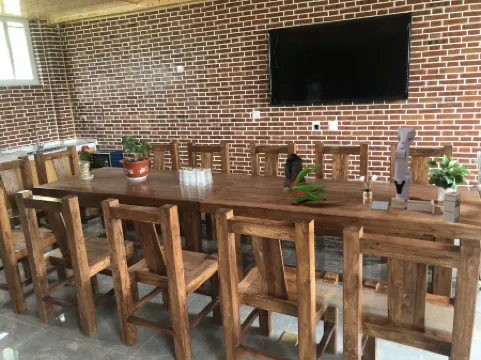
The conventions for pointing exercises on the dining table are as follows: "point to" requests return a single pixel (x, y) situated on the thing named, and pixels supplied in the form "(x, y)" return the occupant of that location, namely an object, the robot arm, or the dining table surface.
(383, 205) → the slate board
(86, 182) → the dining table surface
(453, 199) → the syrup box
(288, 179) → the dark grey backpack
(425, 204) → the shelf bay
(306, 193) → the decorative plant
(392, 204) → the birch block
